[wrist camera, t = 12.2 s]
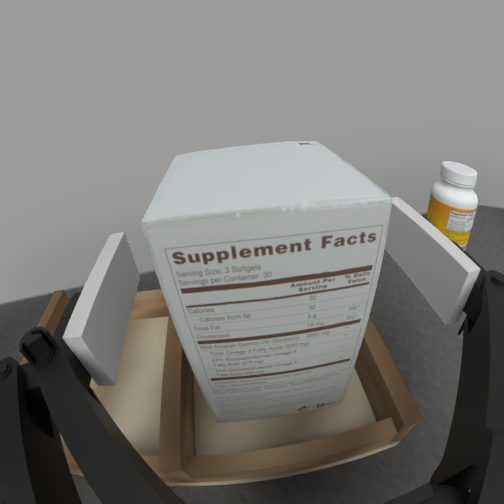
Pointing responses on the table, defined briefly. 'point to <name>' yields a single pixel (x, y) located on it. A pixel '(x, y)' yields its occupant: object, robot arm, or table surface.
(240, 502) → the table surface
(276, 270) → the supplement box
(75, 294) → the robot arm
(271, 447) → the divided wooden tray
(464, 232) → the supplement bottle
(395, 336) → the table surface
